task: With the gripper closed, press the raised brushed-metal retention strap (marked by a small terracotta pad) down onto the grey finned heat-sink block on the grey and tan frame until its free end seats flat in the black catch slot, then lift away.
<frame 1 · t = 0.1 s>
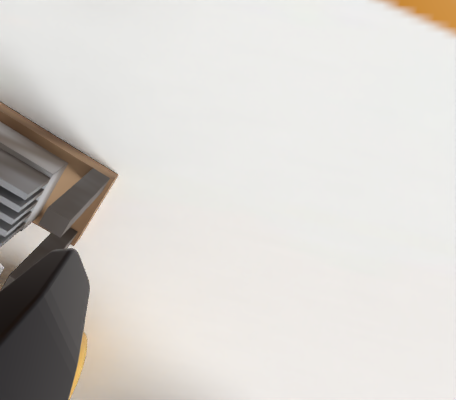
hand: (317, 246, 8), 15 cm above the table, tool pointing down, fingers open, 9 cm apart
grey and tan frame: (12, 155, 24), on the table
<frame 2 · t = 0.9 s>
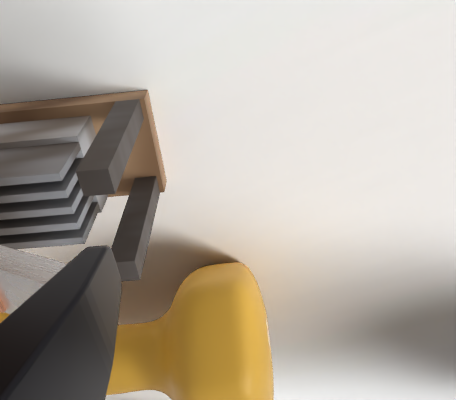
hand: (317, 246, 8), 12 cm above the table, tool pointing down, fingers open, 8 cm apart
dumbbell: (108, 300, 26), on the table
grey and tan frame: (45, 148, 20), on the table
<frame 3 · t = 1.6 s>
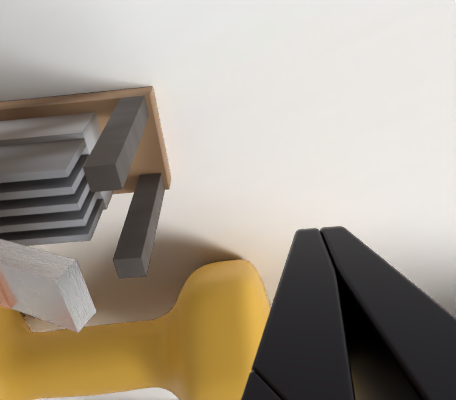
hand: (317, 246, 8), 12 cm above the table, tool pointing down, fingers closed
dumbbell: (112, 298, 26), on the table
grey and tan frame: (49, 145, 20), on the table
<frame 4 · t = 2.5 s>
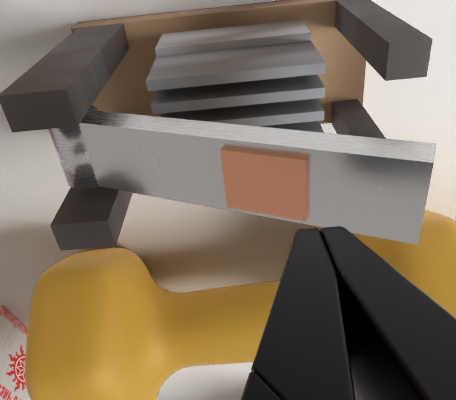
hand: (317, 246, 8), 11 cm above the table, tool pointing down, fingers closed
dumbbell: (248, 259, 24), on the table
strap: (213, 165, 11), point 8 cm above the table, hinge at 25.0°
grey and tan frame: (225, 68, 17), on the table
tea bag: (18, 345, 27), on the table
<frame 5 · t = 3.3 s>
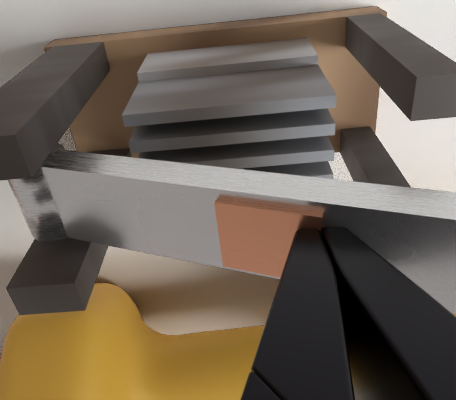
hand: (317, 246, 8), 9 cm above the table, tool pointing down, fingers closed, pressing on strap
dumbbell: (247, 293, 22), on the table
strap: (204, 216, 9), point 8 cm above the table, hinge at 21.5°, touching gripper
grey and tan frame: (220, 91, 15), on the table
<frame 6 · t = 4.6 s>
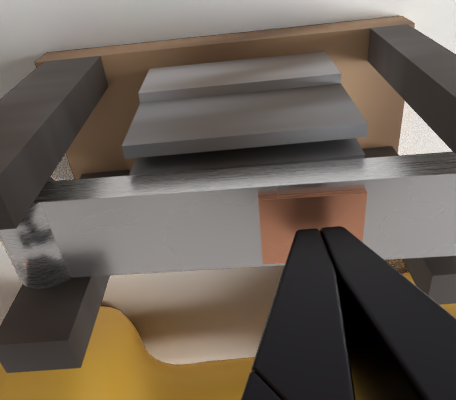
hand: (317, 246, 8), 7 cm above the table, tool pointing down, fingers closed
dumbbell: (255, 316, 20), on the table
strap: (233, 219, 9), point 6 cm above the table, hinge at 1.8°
grey and tan frame: (228, 107, 14), on the table
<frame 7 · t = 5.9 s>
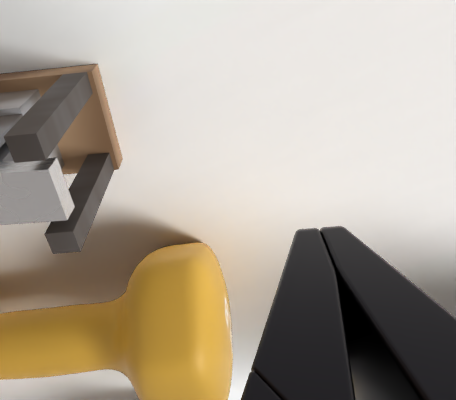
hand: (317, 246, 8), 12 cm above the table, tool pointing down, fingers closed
dumbbell: (72, 282, 26), on the table
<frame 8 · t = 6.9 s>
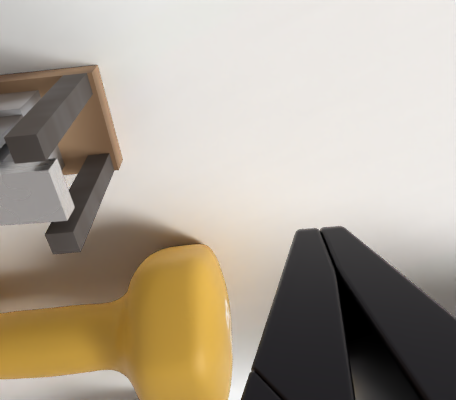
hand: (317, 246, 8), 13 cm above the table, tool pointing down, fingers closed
dumbbell: (72, 282, 26), on the table
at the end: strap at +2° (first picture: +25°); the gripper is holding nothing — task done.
